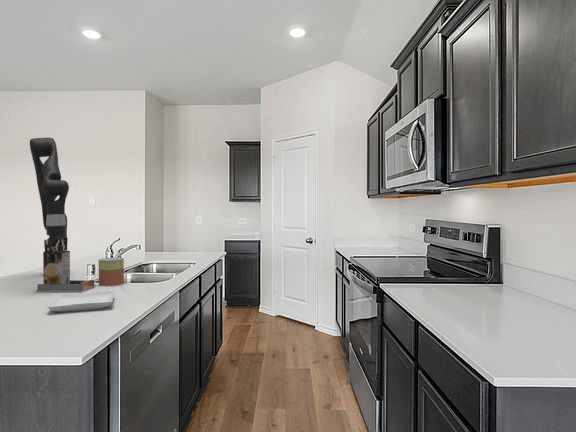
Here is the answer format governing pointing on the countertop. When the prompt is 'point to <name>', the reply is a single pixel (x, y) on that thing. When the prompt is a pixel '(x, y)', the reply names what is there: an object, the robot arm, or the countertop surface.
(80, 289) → the gray orange tray
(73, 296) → the salad plate
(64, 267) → the coffee box
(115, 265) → the canned food
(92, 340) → the countertop surface
